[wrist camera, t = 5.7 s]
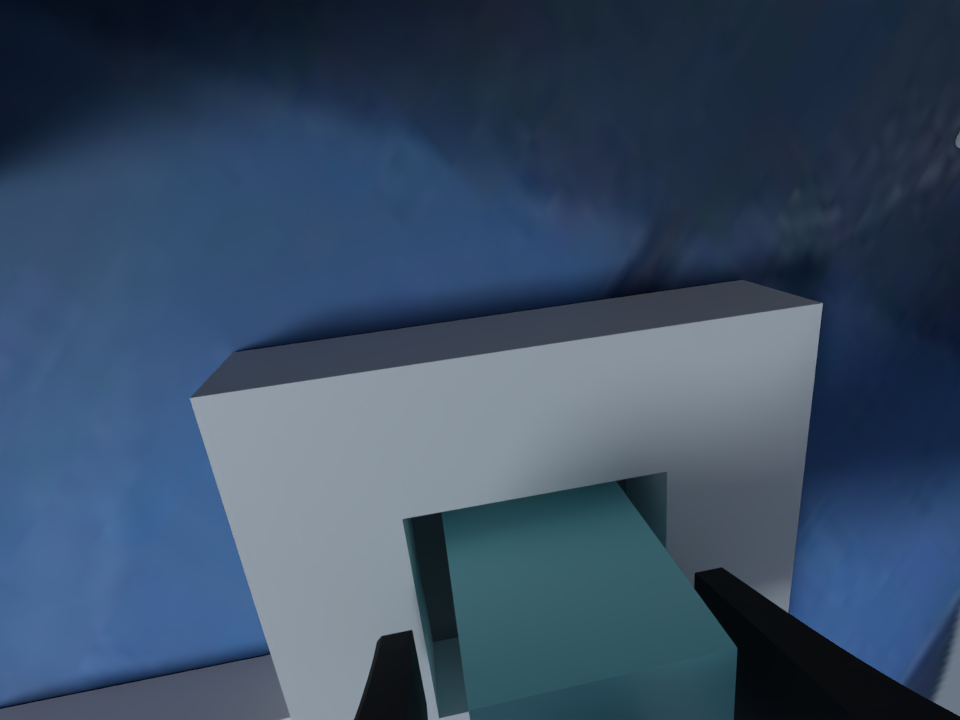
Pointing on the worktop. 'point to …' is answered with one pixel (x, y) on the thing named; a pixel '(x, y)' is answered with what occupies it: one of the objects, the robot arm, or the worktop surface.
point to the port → (500, 460)
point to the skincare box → (958, 141)
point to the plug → (581, 614)
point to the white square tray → (174, 697)
